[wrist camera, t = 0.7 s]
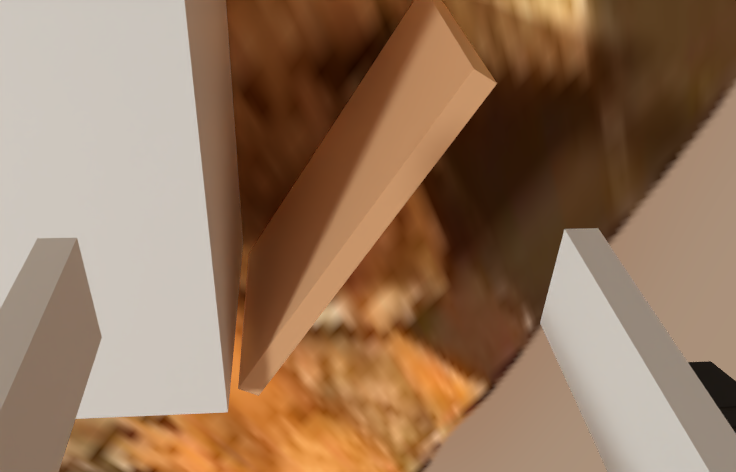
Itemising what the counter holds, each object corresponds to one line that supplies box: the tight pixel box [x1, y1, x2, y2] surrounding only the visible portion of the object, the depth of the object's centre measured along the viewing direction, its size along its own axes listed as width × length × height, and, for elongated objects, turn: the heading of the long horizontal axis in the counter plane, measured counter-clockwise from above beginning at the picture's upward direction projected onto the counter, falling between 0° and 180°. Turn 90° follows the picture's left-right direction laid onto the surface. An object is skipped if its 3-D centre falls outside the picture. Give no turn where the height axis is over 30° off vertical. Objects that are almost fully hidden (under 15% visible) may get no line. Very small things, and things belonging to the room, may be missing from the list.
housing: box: [0, 0, 243, 419], centre depth 27 cm, size 20×16×12 cm
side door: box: [238, 0, 497, 396], centre depth 30 cm, size 17×2×10 cm, turn 147°
